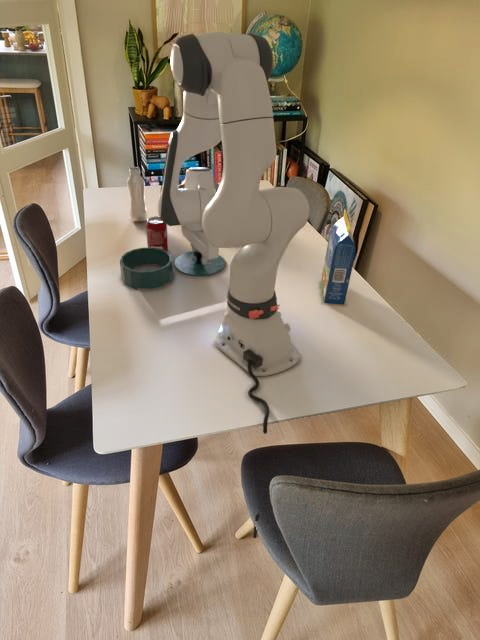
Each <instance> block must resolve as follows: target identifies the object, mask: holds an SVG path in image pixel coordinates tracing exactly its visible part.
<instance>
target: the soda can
mask: <svg viewBox="0 0 480 640" xmlns="http://www.w3.org/2000/svg"><path fill="white" fill-rule="evenodd" d="M145 230H146V241H147V242H146V243H147V248H158V249H162V250H165V251H167V252H169V241H168V225H167V224H166V223H164V222H163V221H162V220H161V219H160V218H159V215H157V216H154V215H153V216H150V217H147V222H146V224H145Z"/></svg>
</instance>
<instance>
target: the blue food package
mask: <svg viewBox="0 0 480 640" xmlns="http://www.w3.org/2000/svg"><path fill="white" fill-rule="evenodd" d="M326 246H327V247H326V251H325V252H326V253H325V258H324V263H323V268H322V273H321V281H320V284H321V285H320V287H321V293H322V300H323V303H324V304H329V305H330V304H331V305H342V306H343V305H345V303H346V299H347V293H348V289H349V285H350V281H351V277H352V271H353V267H354V262H355V258H356V250H357V247H356V244H355V239H354V235H353V233H352V230H351V224H350V219H349V217H348V213H347V210H346V209H344V210H343V216H342V217H341V218H340V219H338V221H336V222H335V223H334V224H333V225H332V227H331V229H330V232H329V235H328V241H327V245H326Z"/></svg>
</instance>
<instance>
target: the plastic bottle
mask: <svg viewBox="0 0 480 640" xmlns="http://www.w3.org/2000/svg"><path fill="white" fill-rule="evenodd" d="M128 170H129V172H128V173H129V176H128V178H127V181H126V187H127V190H128V195H129V218H130V219H131V221H133V222H144V221H146V220H147V219H148V210H147V207H146V200H145V189H146V181H145V179H144V178H143V176H142V175H141V168H140V167H139V166H131V167H129V168H128Z"/></svg>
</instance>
